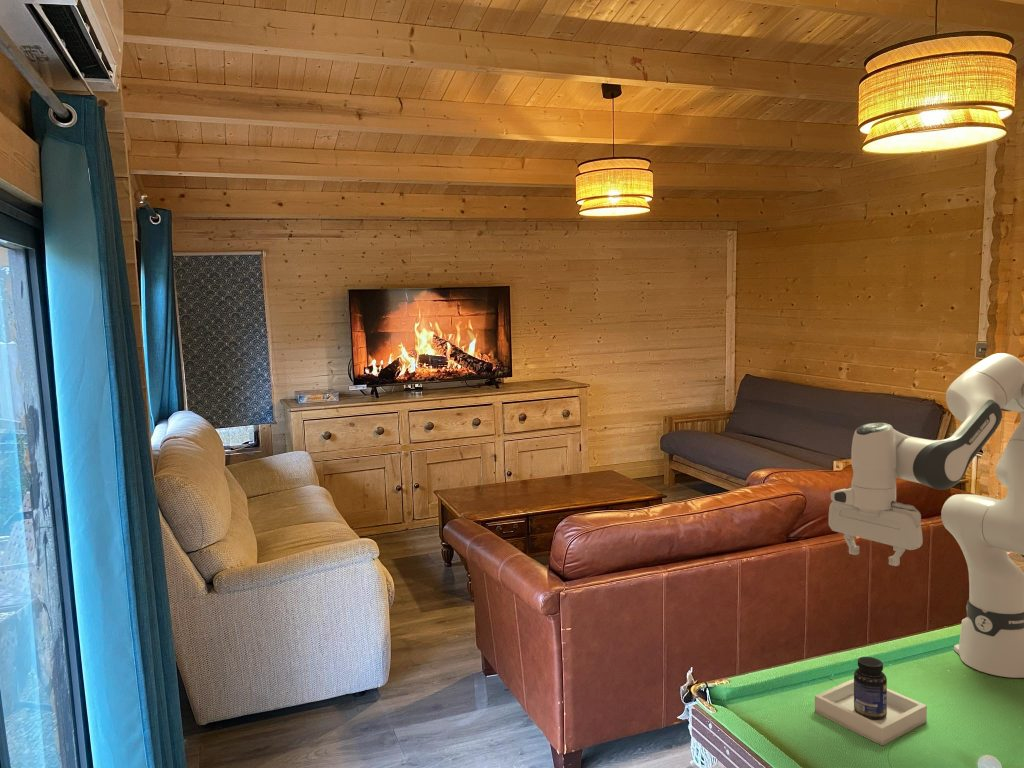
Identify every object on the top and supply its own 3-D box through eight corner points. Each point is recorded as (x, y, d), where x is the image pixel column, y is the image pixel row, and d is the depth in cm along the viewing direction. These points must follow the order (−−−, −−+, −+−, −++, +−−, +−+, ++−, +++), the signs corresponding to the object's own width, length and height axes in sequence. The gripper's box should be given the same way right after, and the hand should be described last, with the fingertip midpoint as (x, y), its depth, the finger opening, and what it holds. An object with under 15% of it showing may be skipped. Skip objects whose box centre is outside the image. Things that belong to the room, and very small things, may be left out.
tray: (859, 691, 162) (859, 676, 161) (926, 722, 149) (926, 705, 149) (814, 711, 154) (814, 695, 154) (882, 745, 141) (882, 728, 141)
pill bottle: (890, 722, 148) (890, 669, 147) (857, 719, 149) (858, 667, 148) (881, 706, 154) (882, 655, 153) (850, 704, 155) (850, 653, 154)
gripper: (929, 504, 153) (928, 569, 154) (841, 487, 171) (841, 545, 172) (911, 509, 150) (911, 575, 151) (824, 491, 168) (824, 550, 169)
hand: (873, 559), depth 162 cm, fingers open, 8 cm apart
